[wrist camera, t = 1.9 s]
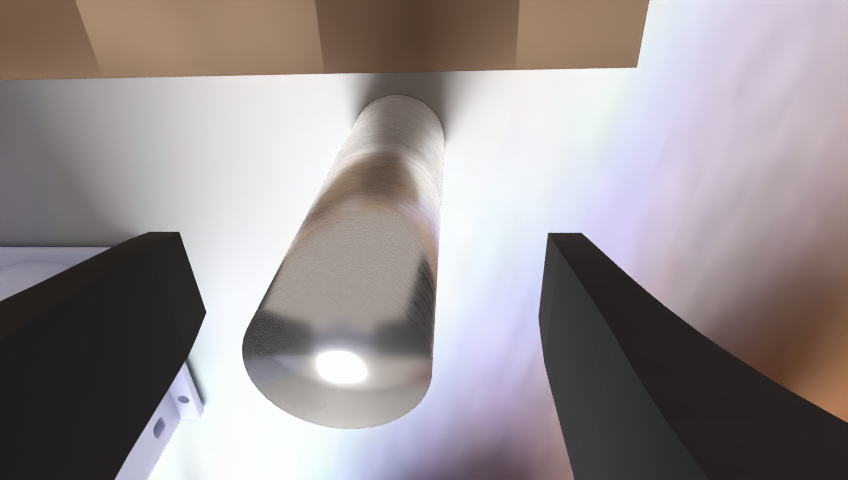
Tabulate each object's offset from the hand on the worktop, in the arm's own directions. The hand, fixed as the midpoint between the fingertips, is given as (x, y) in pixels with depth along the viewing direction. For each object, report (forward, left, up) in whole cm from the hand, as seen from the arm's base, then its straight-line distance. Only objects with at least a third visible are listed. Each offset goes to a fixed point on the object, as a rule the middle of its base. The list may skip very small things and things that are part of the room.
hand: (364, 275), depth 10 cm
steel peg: (0, 0, -8) cm, 8 cm away
